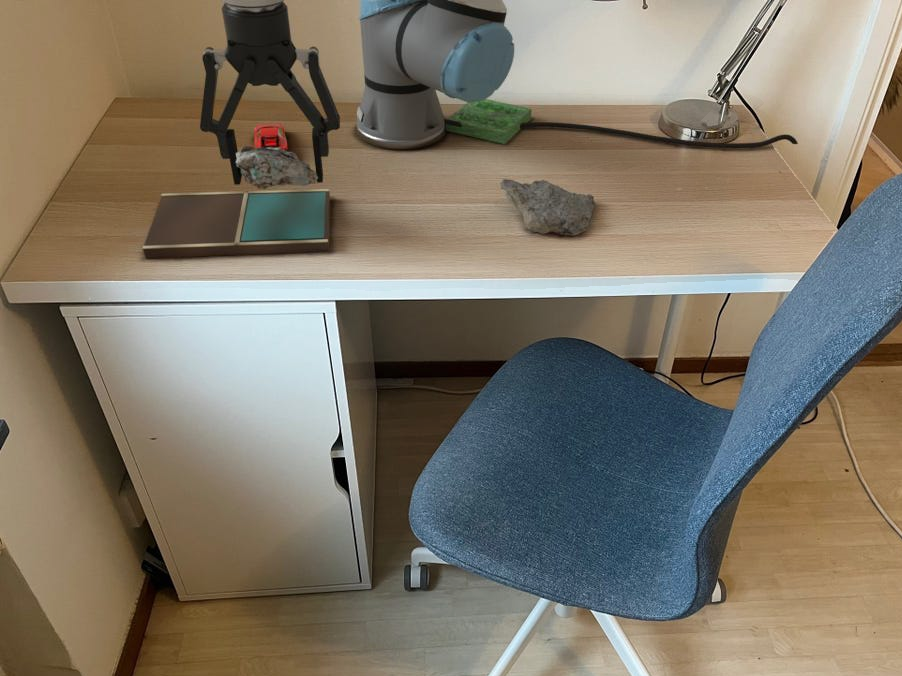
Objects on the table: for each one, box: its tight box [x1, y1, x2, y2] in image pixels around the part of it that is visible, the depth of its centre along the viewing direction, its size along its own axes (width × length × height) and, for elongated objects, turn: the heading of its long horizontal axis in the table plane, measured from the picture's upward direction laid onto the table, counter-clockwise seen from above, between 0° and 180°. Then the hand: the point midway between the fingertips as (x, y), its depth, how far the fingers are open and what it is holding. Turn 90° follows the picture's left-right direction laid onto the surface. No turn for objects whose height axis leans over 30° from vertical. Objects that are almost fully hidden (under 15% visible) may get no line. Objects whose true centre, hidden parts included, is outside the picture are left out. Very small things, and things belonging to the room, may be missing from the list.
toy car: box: [253, 123, 289, 152], centre depth 128 cm, size 12×5×3 cm, turn 14°
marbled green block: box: [445, 98, 532, 145], centre depth 138 cm, size 11×12×2 cm
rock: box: [499, 178, 596, 237], centre depth 115 cm, size 14×4×15 cm
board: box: [142, 188, 331, 259], centre depth 109 cm, size 24×15×2 cm, turn 97°
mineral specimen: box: [235, 145, 318, 190], centre depth 103 cm, size 10×12×6 cm
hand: (279, 179), depth 105 cm, fingers closed on mineral specimen, 10 cm apart
